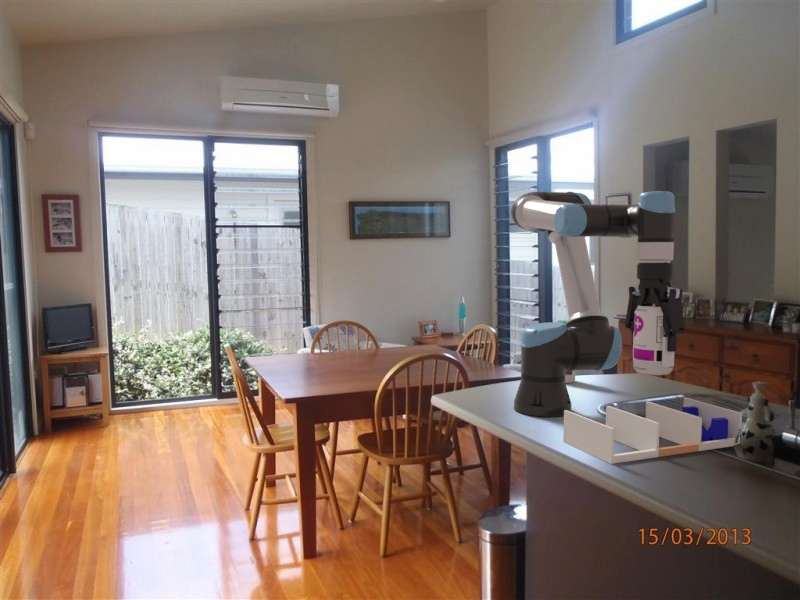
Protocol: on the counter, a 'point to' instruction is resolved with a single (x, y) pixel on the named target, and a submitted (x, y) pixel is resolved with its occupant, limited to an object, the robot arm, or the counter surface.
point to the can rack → (648, 431)
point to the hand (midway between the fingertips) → (652, 363)
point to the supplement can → (649, 341)
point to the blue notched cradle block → (711, 426)
